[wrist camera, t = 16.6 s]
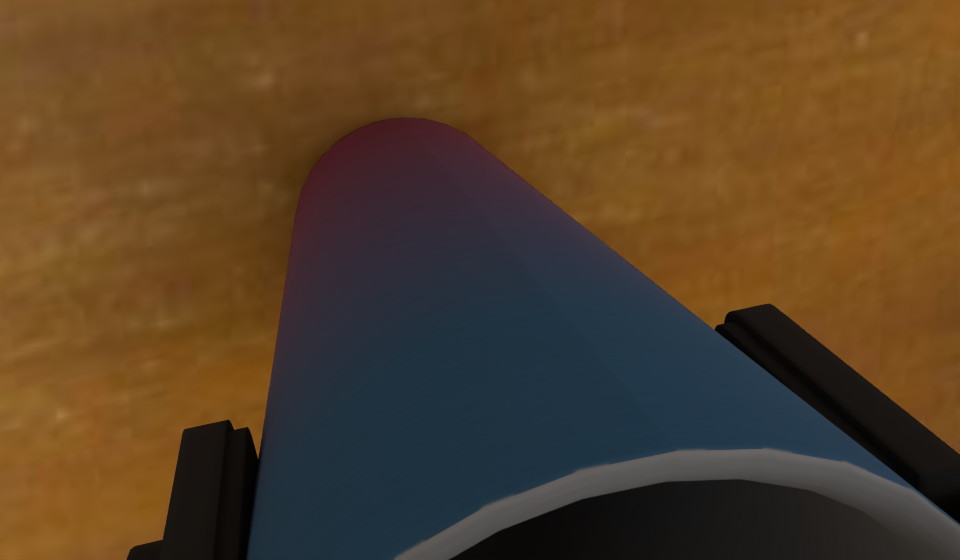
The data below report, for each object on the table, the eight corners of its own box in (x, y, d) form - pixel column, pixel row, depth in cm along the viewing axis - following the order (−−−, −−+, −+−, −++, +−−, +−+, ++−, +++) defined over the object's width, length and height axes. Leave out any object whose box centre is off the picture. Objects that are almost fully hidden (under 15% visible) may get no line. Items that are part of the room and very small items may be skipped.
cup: (544, 346, 23) (937, 990, 9) (267, 370, 22) (247, 1160, 8) (554, 71, 20) (1114, 401, 7) (239, 81, 19) (139, 514, 5)
